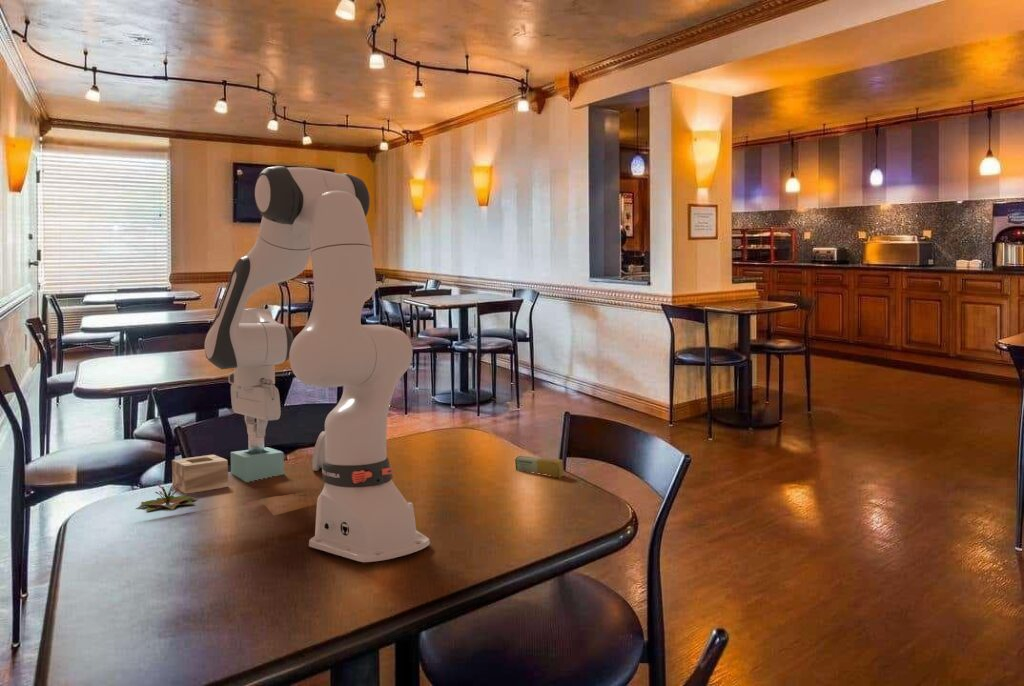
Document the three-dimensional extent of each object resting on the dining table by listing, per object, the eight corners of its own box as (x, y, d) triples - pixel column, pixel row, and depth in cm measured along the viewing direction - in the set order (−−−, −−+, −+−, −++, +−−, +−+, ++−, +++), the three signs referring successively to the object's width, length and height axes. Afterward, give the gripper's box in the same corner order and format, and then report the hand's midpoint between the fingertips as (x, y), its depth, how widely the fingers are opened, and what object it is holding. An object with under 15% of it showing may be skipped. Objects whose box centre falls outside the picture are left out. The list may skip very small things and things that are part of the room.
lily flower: (138, 518, 132) (137, 494, 132) (131, 504, 142) (130, 482, 142) (205, 508, 139) (204, 485, 139) (194, 495, 149) (193, 474, 149)
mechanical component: (321, 466, 174) (326, 427, 174) (338, 469, 174) (344, 430, 174) (308, 475, 164) (314, 434, 164) (326, 478, 164) (333, 437, 164)
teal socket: (283, 477, 164) (283, 452, 164) (245, 483, 158) (245, 457, 157) (268, 471, 170) (267, 447, 170) (231, 477, 164) (230, 452, 164)
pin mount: (228, 486, 155) (227, 460, 155) (185, 493, 149) (185, 466, 149) (213, 479, 162) (213, 454, 161) (172, 486, 156) (171, 460, 155)
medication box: (515, 474, 166) (514, 458, 166) (521, 471, 168) (519, 455, 168) (559, 479, 160) (558, 462, 159) (565, 475, 162) (563, 459, 162)
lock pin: (266, 461, 164) (266, 423, 164) (252, 463, 161) (251, 424, 161) (260, 459, 166) (260, 421, 166) (246, 461, 164) (245, 423, 164)
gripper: (287, 379, 158) (288, 439, 158) (251, 373, 173) (252, 429, 173) (260, 380, 153) (261, 442, 154) (225, 375, 168) (226, 431, 169)
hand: (256, 435), depth 164 cm, fingers closed on lock pin, 3 cm apart
